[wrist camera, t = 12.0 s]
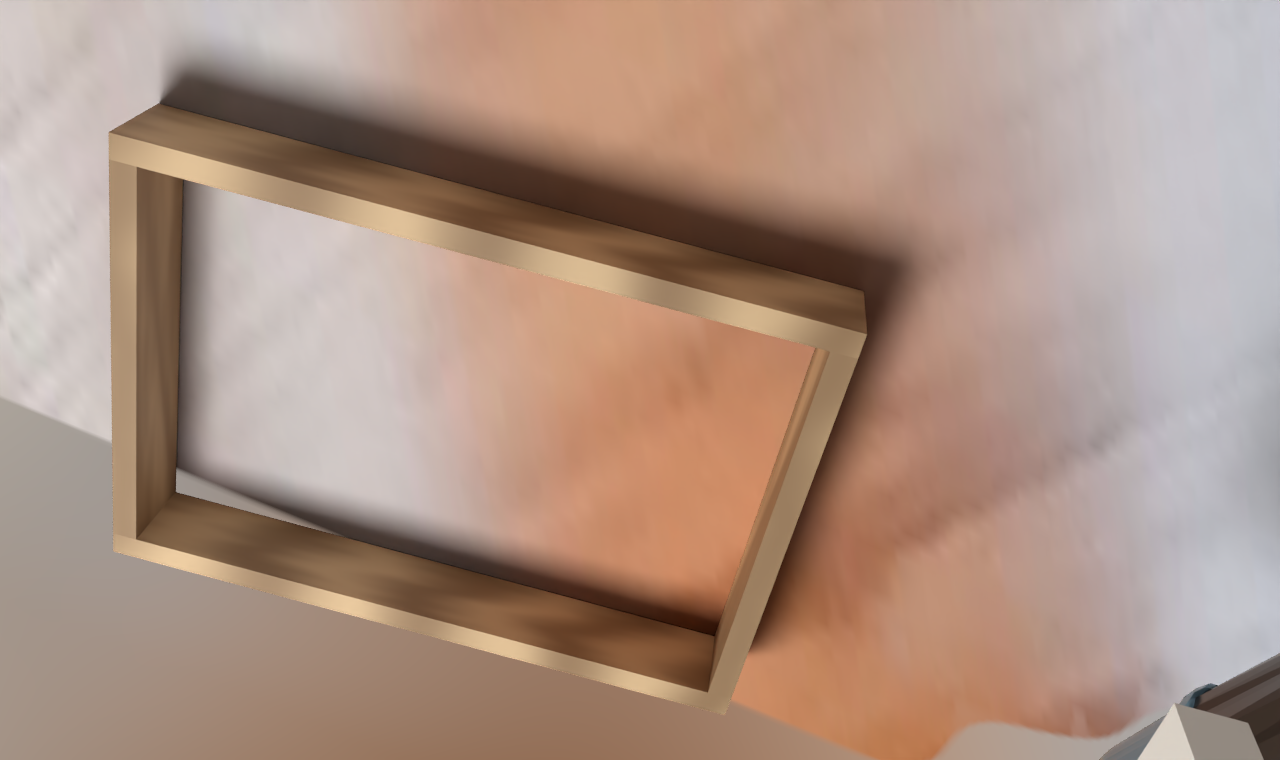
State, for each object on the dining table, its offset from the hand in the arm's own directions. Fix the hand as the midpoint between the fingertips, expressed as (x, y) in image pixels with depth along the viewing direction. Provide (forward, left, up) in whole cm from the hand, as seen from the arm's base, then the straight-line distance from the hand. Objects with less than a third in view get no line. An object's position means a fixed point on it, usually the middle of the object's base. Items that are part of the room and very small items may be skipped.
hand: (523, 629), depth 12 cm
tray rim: (+6, +18, -31) cm, 36 cm away
